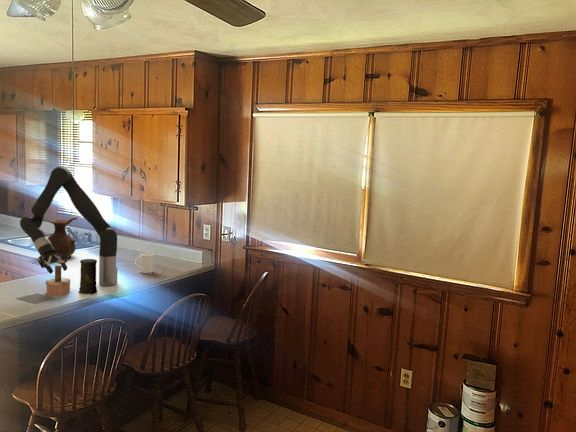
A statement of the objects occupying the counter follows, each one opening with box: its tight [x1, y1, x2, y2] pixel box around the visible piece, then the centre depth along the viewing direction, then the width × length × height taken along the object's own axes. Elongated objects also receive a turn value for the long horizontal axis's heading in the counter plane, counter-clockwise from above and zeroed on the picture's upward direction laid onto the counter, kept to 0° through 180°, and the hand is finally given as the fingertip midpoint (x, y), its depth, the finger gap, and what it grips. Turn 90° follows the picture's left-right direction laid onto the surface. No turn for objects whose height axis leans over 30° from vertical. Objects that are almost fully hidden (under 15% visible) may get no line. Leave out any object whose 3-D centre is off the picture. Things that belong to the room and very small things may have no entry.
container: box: [78, 258, 98, 295], centre depth 251 cm, size 9×9×18 cm
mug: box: [134, 252, 154, 273], centre depth 303 cm, size 12×8×12 cm
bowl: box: [45, 282, 71, 296], centre depth 248 cm, size 11×11×6 cm
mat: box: [15, 292, 57, 305], centre depth 236 cm, size 12×15×1 cm
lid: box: [44, 265, 71, 285], centre depth 247 cm, size 12×12×9 cm
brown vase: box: [47, 215, 79, 258], centre depth 329 cm, size 22×22×30 cm
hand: (59, 271), depth 246 cm, fingers open, 8 cm apart
